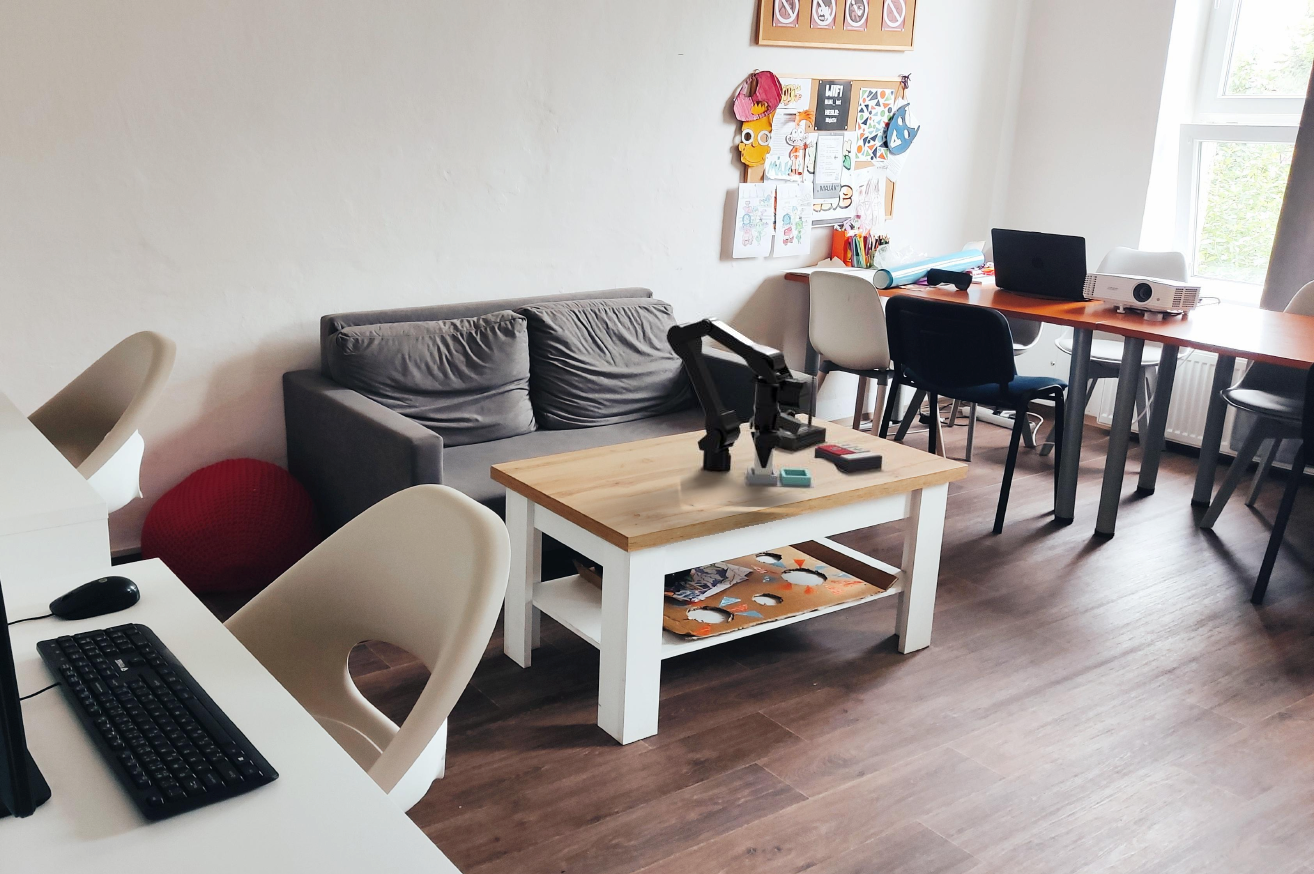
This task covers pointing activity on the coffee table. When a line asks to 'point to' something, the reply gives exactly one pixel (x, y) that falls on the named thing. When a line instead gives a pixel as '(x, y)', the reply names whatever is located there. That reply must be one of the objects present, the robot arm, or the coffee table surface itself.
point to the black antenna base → (803, 432)
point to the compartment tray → (780, 478)
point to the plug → (758, 469)
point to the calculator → (849, 457)
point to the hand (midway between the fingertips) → (762, 465)
